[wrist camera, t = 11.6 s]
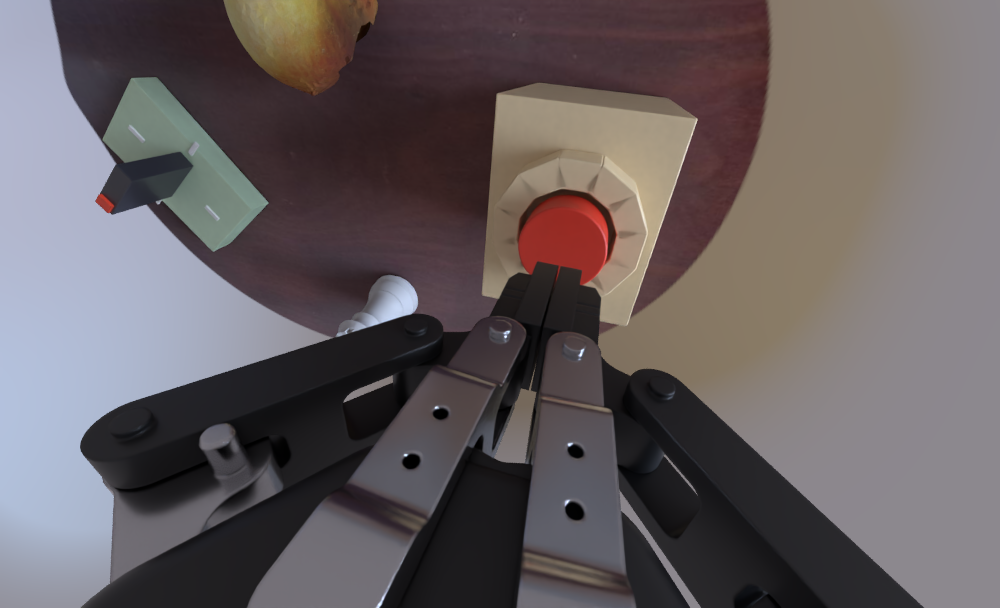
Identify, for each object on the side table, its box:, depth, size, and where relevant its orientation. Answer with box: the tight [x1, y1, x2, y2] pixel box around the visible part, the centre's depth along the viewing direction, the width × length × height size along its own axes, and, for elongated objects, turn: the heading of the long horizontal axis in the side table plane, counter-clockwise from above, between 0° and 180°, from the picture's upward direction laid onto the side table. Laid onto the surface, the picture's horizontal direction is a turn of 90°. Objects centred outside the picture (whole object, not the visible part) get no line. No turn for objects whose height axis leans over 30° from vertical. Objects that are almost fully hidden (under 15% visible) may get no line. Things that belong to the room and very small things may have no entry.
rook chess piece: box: [336, 275, 418, 337], centre depth 33 cm, size 4×4×8 cm
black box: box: [96, 152, 193, 214], centre depth 31 cm, size 5×1×5 cm, turn 126°
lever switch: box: [102, 77, 268, 251], centre depth 34 cm, size 12×9×2 cm
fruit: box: [224, 0, 378, 96], centre depth 22 cm, size 8×8×8 cm
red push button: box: [518, 195, 608, 285], centre depth 16 cm, size 4×4×2 cm
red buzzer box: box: [482, 83, 697, 326], centre depth 21 cm, size 10×8×12 cm
